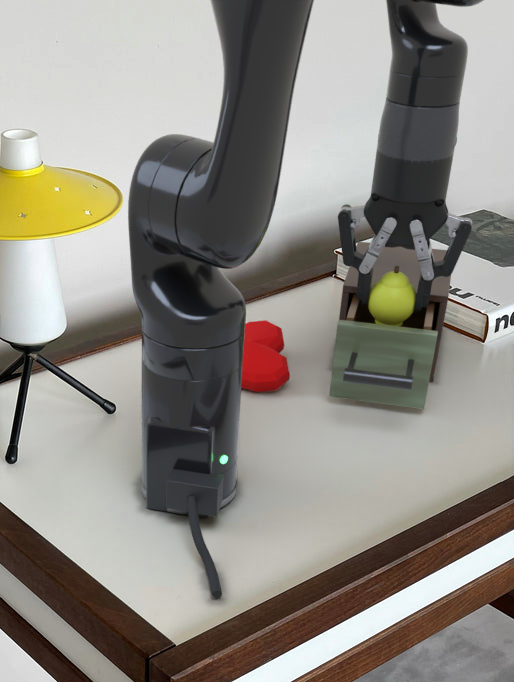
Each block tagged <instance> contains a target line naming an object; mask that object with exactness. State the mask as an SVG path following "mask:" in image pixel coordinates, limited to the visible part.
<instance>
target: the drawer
mask: <svg viewBox="0 0 514 682" xmlns="http://www.w3.org/2000/svg"><path fill="white" fill-rule="evenodd" d="M361 301H362V300H357V297H356V293H354V296H353V299H352V302H351V305H350V309H349V312H348V315H347V320H339V319H338V321H337V325H336V334H335V342H334V349H333V358H332V359H333V360H332V368H331V377H330V385H329V392H328V397H330V398H338V399H345V400H353V401H358V402H359V401H360V402H367V403H375V404H383V405H389V406H398V407H404V408H413V409H420V410H424V409H425V407H426V400H427V395H428V391H429V384H430V382H429V379H430V374H431V368H432V363H433V357H434V352H435V346H436V340H437V334H438V331H433V330H431V327H432V321H433V314H434V307H435V302H432V301H429V304H428V305H427V307H426V308H424V307H421V312H414V311H413V313H412V314H411V315H410V317H409V318H407V319H406V320H405V321H403V324H402V325H401V326H400V327H398V326H390V325H381V324H376V323H375V318H374V317H373V316H372V314H371V313H370V311H369V308H368V306H361Z"/></svg>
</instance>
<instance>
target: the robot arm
mask: <svg viewBox="0 0 514 682" xmlns="http://www.w3.org/2000/svg"><path fill="white" fill-rule="evenodd" d="M209 1H210V6H211V10H212V14H213V17H214V21H215V22H214V23H215V26H216V31H217V35H218V39H219V43H220V49H221V56H222V67H223V81H222V83H223V84H222V96H221V102H220V109H219V115H218V120H217V125H216V129H215V134H214V138H213V141H211V140H208V139H202V138H200V137H195V136H192V135H187V134H182V133H169V134H165V135H162V136H160V137H158V138H156V139H155V140H153V141H152V142H151V143H150V144H148V145H147V147H146V148H145V149H144V151H143V152H142V153H141V155H140V156H139V158H138V160H137V163H136V165H135V166H134V169H133V172H132V177H131V180H130V184H129V190H128V191H129V193H128V201H127V221H128V222H127V224H128V242H129V258H130V274H131V275H130V276H131V288H132V294H133V298H134V301H135V304H136V305H137V308H138V310H139V312H140V318H141V324H140V325H141V478H140V491H141V494H142V496H143V497H144V498H145V507H146V508H147V509H150V510H156V511H163V512H168V513H174V514H180V515H186V516H187V515H188V522H189V528H190V532H191V537H192V540H193V543H194V546H195V548H196V550H197V554H198V555H199V557H200V559H201V561H202V563H203V566H204V569H205V572H206V575H207V578H208V583H209V584H208V585H209V588H210V593H211V597H212V598H213V599H220V598H221V597H222V596H223V592H222V587H221V583H220V578H219V574H218V570H217V568H216V565H215V562H214V560H213V557H212V555H211V553H210V551H209V549H208V547H207V545H206V542H205V539H204V537H203V533H202V529H201V523H200V518H205V519H207V518H209V517H217V516H218V513H219V511H220V509H221V508H222V509H223V508H224V507H225V506H227V505H229V503H230V502H231V501H232V500H233V499H234V498H235V496H236V494H237V487H238V480H237V467H238V450H239V436H240V435H239V434H240V417H241V403H242V402H241V401H242V388H241V386H242V370H243V356H244V340H245V324H246V323H247V305H246V301H245V298H244V296H243V294H242V293H241V291H240V290H239V289H238V288H237V287H236V285H234V284H233V283H232V282H231V281H230V280H229V279H228V278H227V276H225V274H224V273H223V272H222V271H221V269H224V270H231V269H236V268H238V267H240V266H242V265H244V264H245V263H246V262H247V261H248V260H250V259H251V258H252V256H253V255H254V254H256V251H257V250H258V248H259V247H260V245H261V243H262V241H263V239H264V238H265V235H266V234H267V231H268V229H269V227H270V223H271V220H272V217H273V213H274V209H275V206H276V202H277V198H278V191H279V185H280V180H281V174H282V168H283V161H284V155H285V149H286V143H287V137H288V131H289V123H290V117H291V111H292V105H293V98H294V92H295V87H296V82H297V78H298V77H297V76H298V72H299V68H300V63H301V59H302V54H303V49H304V46H305V45H304V44H305V41H306V36H307V31H308V28H309V24H310V18H311V14H312V10H313V6H314V2H315V0H209ZM484 1H485V0H385V3H386V12H387V18H388V19H387V22H388V31H389V39H390V47H391V60H390V66H389V72H388V80H387V88H386V96H385V100H384V101H385V102H384V106H383V110H382V113H381V118H380V122H379V129H378V135H377V145H376V152H375V159H374V160H375V161H374V166H373V167H374V168H373V173H372V174H373V175H372V183H371V189H370V195H369V198H368V200H367V201H366V202H365V204H363V205H357V206H352V205H350V204H347V203H346V204H343V205H342V206H341V208H340V210H339V212H338V215H337V222H338V231H339V238H340V239H339V240H340V246H341V257H342V263H343V265H344V266H345V267H350V266H352V267H354V268H356V269H357V270H358V273H359V276H358V283H357V291H356V297H357V300H362V301H361V306H368V298H369V293H370V290H371V283H372V276H373V269H374V268H372V266H373V265H374V263H375V261H376V259H377V258H378V256H379V255H380V253H381V251H382V249H383V248H384V246H385V247H391V248H393V247H403V248H406V249H411V250H416V254H417V258H418V261H419V264H420V268H421V273H420V278H419V284H418V290H417V296H416V302H415V308H414V312H421V307H424V308H426V307H427V305H428V304H429V299H430V293H431V287H432V282H433V280H434V279H435V278H436V277H440V276H444V277H448V276H450V275H451V276H452V274H453V273H454V270H455V267H456V266H457V263H458V261H459V259H460V256H461V254H462V252H463V250H464V248H465V246H466V243H467V241H468V238H469V236H470V234H471V232H472V230H473V229H472V228H473V218H472V217H471V216H470V215H463V216H459V215H457V214H454V213H450V212H449V208H448V206H447V201H446V200H447V196H448V189H449V184H450V178H451V172H452V166H453V159H454V154H455V147H456V145H457V142H458V131H459V125H460V123H459V122H460V119H459V118H460V104H461V96H462V91H463V85H464V79H465V74H466V69H467V63H468V56H469V45H468V43H467V40H466V39H465V38H464V37H463V36H461V35H459V34H458V33H457V32H454V31H453V30H451V29H449V28H447V27H445V26H444V24H442V22H441V21H440V19H439V15H438V9H437V5H442V6H443V5H444V6H450V7H456V8H457V7H459V8H467V7H473V6H476V5H479V4H480V3H483V2H484ZM362 218H364V219H365V220H366V222H367V224H368V225H369V227H370V229H371V230H372V232H373V234H374V235H373V237H372V239H371V241H370V242H369V243H370V245H369V247H368V249H367V251H366V252H365V254H364V255H363V254H361V253H359V252H357V248H356V246H357V240H356V232H355V229H357V228H358V227H359V226H360V222H361V219H362ZM444 225H446V226H447V228H448V231H447V235H448V237H449V238H451V240H450V243H449V245H448V247H447V249H446V250H447V252H446V254H445V256H444V258H443V260H441V261H437V262H434V258H433V253H432V249H433V247H432V246H433V245H432V242H431V238H432V237H433V236H434V235H435V234H436V233H437V232H438V231H440V229H442V228H443V227H444Z"/></svg>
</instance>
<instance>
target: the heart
mask: <svg viewBox="0 0 514 682" xmlns="http://www.w3.org/2000/svg"><path fill="white" fill-rule="evenodd" d="M284 349H285V340H284V334H283V328H282V327H280V326H278V325H276V324H274V323H272V322H270V321H268V320H266V319H265V320H255V321H248V322H246V323H245V340H244V356H243V370H242V386H241V389H245V390H248V391H251V392H255V393H265V392H275V391H278V390H279V389H280V388H281V387H282V386H283V385H284V384H286V383H287V382H288V381H289V380H290V376H291V375H290V368H289V363H288V358H287V357H286V356H285V355H283V354H281V353H282V351H283V350H284Z"/></svg>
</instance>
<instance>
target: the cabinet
mask: <svg viewBox="0 0 514 682" xmlns="http://www.w3.org/2000/svg"><path fill="white" fill-rule="evenodd" d="M370 243H371V242H367V241H357V242H356V248H357V252H359V253H361V254H363V255H364V254H365V252H366V251H367V249H368V247H369V245H370ZM446 252H447V249H440V248H432V253H433V258H434V262H437V261H441V260H443V258H444V256H445V254H446ZM396 265H398V266H399V272H401V273H403V274H405V275H406V276H407V277H408V279H409V281H410V283H411V284H412V285H413V287H414V289H415V291H416V295H417V290H418V284H419V278H420V273H421V268H420V264H419V261H418V258H417V254H416V250H411V249H406V248H403V247H393V248H391V247H385V246H384V248H383V249H382V251H381V253H380V255H379V256H378V258H377V259H376V261H375V263H374V265H373V266H372V268H374V269H373V276H372V283H371V288H372V287H373V285H374V284H375V283H376V282H377V281H379V280H380V279H381V278H382V277H383V276H384V275H385V274H386V273H388V272H391V271H394V268H395V266H396ZM358 276H359V273H358V270H357V269H356V268H354V267H352V266H348V270H347V272H346V276H345V278H344V282H343V285H342V290H341V291H342V292H341V299H340V309H339V317H338V321H339V320H347V315H348V312H349V309H350V305H351V302H352V299H353V296H354V293H356V291H357V283H358ZM451 281H452V274H451V275H450V276H448V277H444V276H440V277H436V278H435V279H434V280H433V282H432V287H431V293H430V299H429V301H432V302H435V307H434V314H433V321H432V327H431V330H433V331H438V334H437V340H436V346H435V352H434V357H433V363H432V368H431V374H430V379H429V383H434V378H435V373H436V368H437V363H438V357H439V352H440V347H441V346H440V345H441V340H442V336H443V330H444V323H445V319H446V314H447V313H446V312H447V307H448V302H449V297H450V296H449V295H450V288H451Z"/></svg>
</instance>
